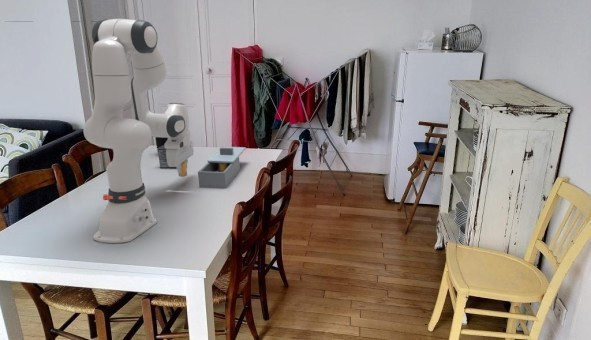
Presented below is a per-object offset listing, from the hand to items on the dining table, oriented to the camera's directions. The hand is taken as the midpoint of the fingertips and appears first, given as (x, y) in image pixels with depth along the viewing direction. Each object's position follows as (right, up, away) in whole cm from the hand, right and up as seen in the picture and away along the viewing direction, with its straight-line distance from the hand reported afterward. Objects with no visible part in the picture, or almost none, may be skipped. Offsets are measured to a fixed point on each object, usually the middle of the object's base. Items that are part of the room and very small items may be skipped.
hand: (182, 170), depth 181 cm
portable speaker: (-22, +9, +46) cm, 51 cm away
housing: (+15, -5, +8) cm, 18 cm away
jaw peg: (0, -2, +1) cm, 2 cm away
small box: (-13, +2, +27) cm, 30 cm away
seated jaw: (+16, -2, +11) cm, 20 cm away
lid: (+17, +7, +16) cm, 25 cm away
